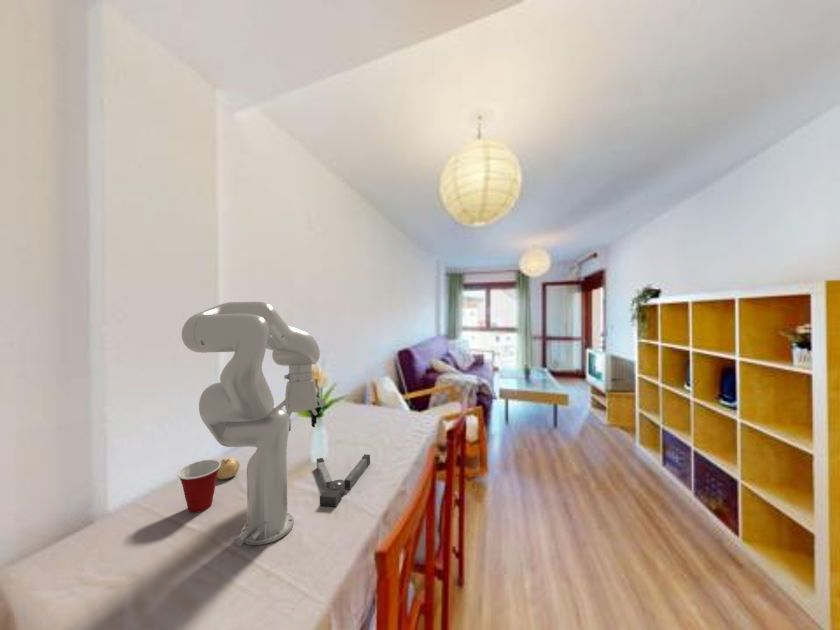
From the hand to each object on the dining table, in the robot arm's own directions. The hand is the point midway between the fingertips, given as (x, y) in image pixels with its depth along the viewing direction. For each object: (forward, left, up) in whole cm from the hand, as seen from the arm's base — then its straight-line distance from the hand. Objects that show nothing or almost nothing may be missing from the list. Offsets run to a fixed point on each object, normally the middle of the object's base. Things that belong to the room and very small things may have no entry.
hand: (301, 427), depth 114 cm
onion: (-1, +29, -18) cm, 34 cm away
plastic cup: (-20, +21, -18) cm, 34 cm away
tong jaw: (0, -10, -18) cm, 21 cm away
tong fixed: (0, -17, -18) cm, 25 cm away
